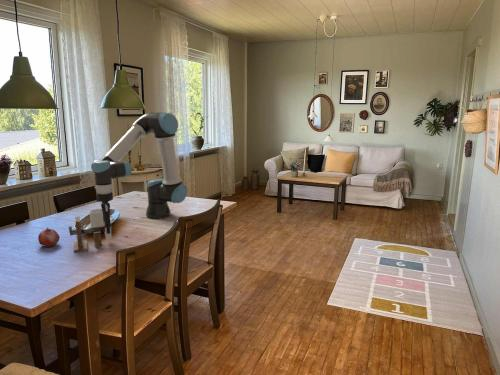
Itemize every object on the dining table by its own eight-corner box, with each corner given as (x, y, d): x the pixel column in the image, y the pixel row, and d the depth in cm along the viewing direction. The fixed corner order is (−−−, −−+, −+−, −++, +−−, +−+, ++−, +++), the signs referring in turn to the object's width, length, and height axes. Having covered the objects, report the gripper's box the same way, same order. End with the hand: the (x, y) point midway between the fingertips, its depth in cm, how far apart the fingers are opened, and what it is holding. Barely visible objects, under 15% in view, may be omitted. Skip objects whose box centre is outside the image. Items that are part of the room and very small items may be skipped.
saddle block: (100, 242, 187) (99, 230, 186) (101, 246, 183) (100, 233, 181) (94, 243, 186) (93, 231, 185) (95, 246, 182) (94, 234, 180)
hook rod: (111, 231, 189) (110, 219, 188) (113, 235, 183) (111, 223, 182) (70, 237, 181) (68, 224, 180) (70, 241, 175) (68, 228, 174)
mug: (102, 233, 201) (100, 213, 198) (88, 232, 203) (86, 212, 200) (114, 226, 212) (113, 207, 210) (100, 225, 214) (99, 206, 212)
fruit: (44, 242, 187) (41, 223, 185) (63, 241, 188) (61, 223, 186) (34, 249, 179) (32, 229, 176) (55, 248, 179) (52, 229, 177)
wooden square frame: (86, 242, 188) (84, 215, 184) (87, 250, 177) (84, 221, 174) (73, 244, 185) (70, 216, 182) (73, 252, 174) (70, 223, 171)
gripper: (95, 189, 188) (98, 232, 193) (97, 197, 171) (101, 244, 176) (110, 187, 191) (114, 230, 196) (114, 196, 174) (118, 242, 179)
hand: (108, 236), depth 186 cm, fingers closed on hook rod, 6 cm apart
